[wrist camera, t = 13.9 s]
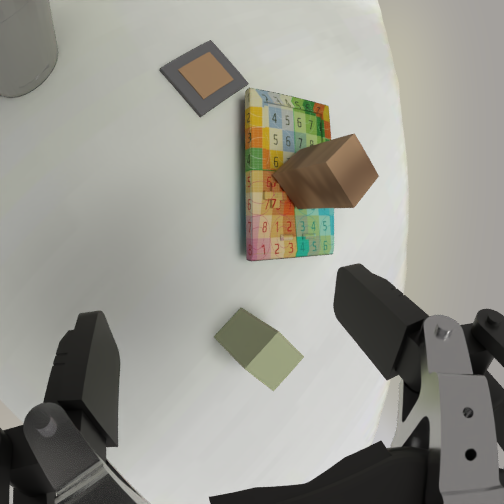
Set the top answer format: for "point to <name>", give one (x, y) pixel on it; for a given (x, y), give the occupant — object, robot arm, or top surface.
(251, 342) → the olive block
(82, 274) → the top surface
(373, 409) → the top surface
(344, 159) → the walnut block
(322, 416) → the top surface
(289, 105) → the puzzle game
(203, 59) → the tile
